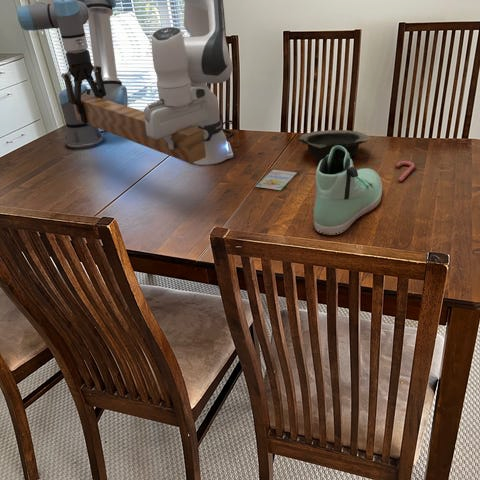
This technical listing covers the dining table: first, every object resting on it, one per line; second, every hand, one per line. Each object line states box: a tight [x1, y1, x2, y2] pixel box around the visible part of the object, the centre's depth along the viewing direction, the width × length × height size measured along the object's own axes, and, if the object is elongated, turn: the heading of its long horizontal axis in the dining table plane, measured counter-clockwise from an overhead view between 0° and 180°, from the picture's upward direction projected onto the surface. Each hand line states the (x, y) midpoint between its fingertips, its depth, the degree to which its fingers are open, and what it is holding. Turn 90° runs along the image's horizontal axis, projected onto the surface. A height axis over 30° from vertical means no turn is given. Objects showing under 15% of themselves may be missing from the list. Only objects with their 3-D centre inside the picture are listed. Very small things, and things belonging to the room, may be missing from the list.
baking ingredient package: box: [255, 169, 297, 191], centre depth 159 cm, size 9×1×15 cm
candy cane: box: [395, 160, 416, 183], centre depth 157 cm, size 6×15×2 cm, turn 145°
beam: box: [73, 94, 206, 164], centre depth 150 cm, size 65×6×8 cm, turn 44°
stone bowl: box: [297, 129, 371, 164], centre depth 171 cm, size 25×25×9 cm
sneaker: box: [313, 146, 383, 236], centre depth 133 cm, size 14×35×20 cm, turn 152°
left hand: (93, 119), depth 169 cm, fingers closed on beam, 6 cm apart
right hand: (182, 144), depth 134 cm, fingers closed on beam, 5 cm apart
